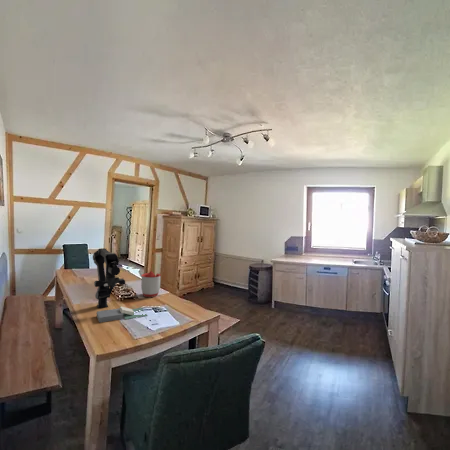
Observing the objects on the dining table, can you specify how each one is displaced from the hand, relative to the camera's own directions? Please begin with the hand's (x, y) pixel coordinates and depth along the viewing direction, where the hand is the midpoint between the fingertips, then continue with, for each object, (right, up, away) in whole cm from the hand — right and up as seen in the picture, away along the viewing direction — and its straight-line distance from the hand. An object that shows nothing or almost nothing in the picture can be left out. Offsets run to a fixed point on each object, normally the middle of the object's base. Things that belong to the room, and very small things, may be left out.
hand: (109, 295), depth 185 cm
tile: (+12, -11, -3) cm, 16 cm away
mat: (+16, -12, 0) cm, 21 cm away
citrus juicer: (+16, -11, +43) cm, 47 cm away
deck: (+4, -12, -8) cm, 15 cm away
